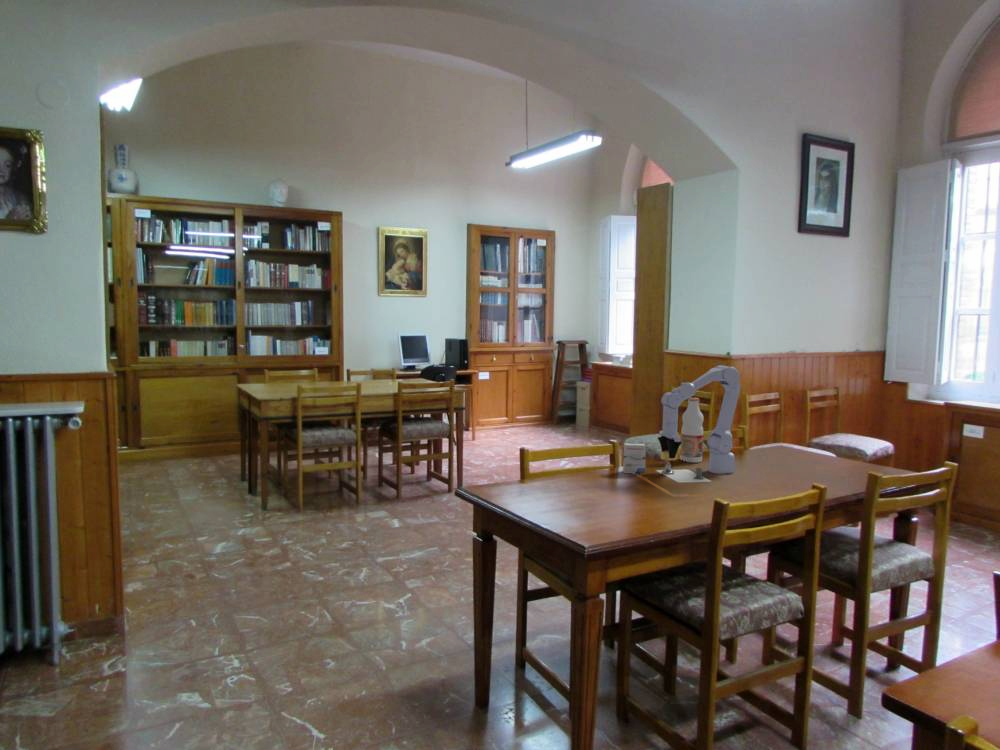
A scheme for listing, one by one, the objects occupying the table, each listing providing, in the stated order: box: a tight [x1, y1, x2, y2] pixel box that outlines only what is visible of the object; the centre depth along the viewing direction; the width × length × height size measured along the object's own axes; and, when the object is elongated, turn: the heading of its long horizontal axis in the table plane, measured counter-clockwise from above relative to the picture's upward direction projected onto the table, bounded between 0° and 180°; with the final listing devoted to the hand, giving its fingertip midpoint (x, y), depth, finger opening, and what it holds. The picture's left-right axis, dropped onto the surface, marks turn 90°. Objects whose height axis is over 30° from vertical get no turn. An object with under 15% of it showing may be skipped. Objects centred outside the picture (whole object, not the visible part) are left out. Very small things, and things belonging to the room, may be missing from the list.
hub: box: [662, 461, 674, 475], centre depth 266 cm, size 5×5×4 cm
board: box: [655, 467, 713, 483], centre depth 262 cm, size 14×20×5 cm
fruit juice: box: [679, 396, 704, 463], centre depth 294 cm, size 9×9×28 cm
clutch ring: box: [660, 450, 678, 461], centre depth 265 cm, size 6×6×3 cm
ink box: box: [622, 442, 647, 475], centre depth 269 cm, size 8×5×12 cm, turn 84°
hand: (668, 456), depth 265 cm, fingers closed on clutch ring, 6 cm apart
